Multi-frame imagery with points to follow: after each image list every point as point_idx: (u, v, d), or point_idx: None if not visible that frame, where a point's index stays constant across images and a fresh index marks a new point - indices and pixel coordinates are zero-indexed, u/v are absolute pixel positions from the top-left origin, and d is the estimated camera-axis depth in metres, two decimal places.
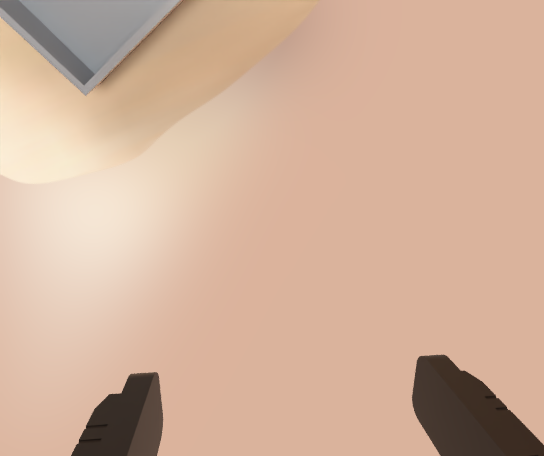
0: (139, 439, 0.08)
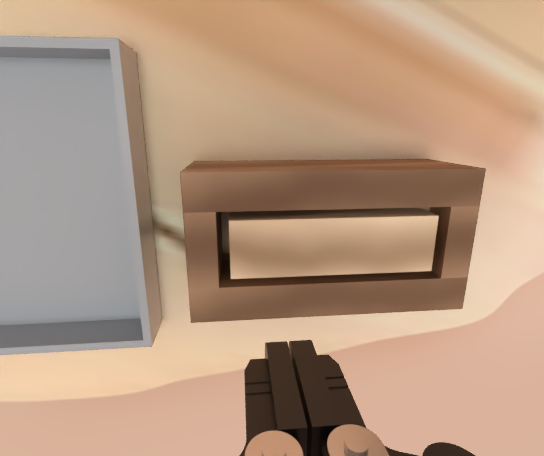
0: None
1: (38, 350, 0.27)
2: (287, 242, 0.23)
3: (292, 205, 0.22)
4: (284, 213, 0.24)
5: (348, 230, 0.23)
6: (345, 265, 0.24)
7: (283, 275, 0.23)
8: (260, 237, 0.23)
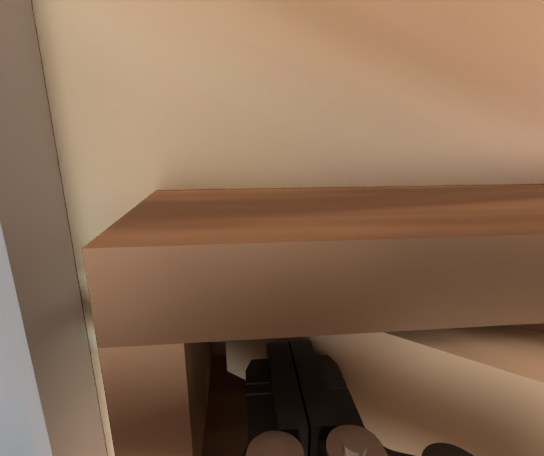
0: None
1: None
2: None
3: (379, 321, 0.09)
4: None
5: (445, 381, 0.09)
6: None
7: None
8: None
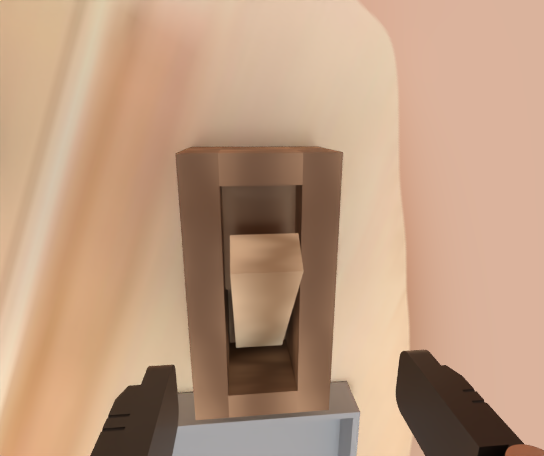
0: (160, 428, 0.08)
1: None
2: (254, 333, 0.27)
3: (221, 338, 0.24)
4: None
5: (246, 314, 0.24)
6: (281, 312, 0.24)
7: (284, 332, 0.28)
8: (249, 340, 0.29)
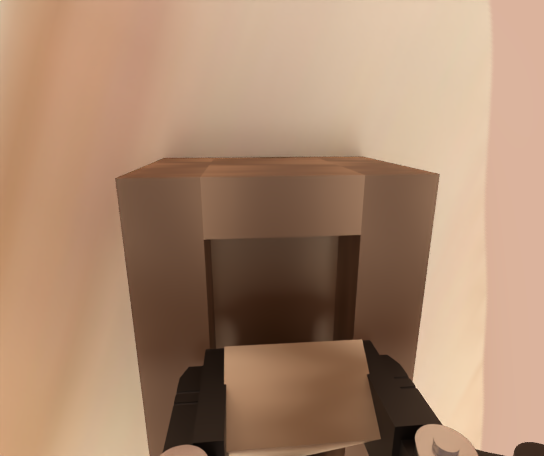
0: None
1: None
2: None
3: None
4: None
5: None
6: (315, 451, 0.14)
7: None
8: None
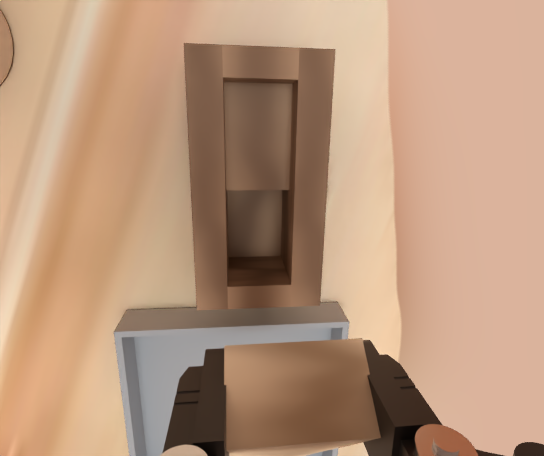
0: None
1: None
2: None
3: (222, 228, 0.27)
4: None
5: (253, 455, 0.14)
6: (315, 450, 0.14)
7: (312, 453, 0.17)
8: None
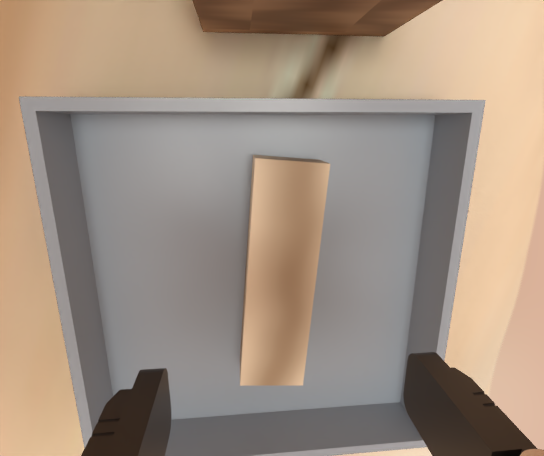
0: (151, 433, 0.08)
1: (456, 258, 0.20)
2: (269, 333, 0.21)
3: None
4: None
5: (263, 269, 0.20)
6: (305, 271, 0.20)
7: (307, 336, 0.21)
8: (260, 357, 0.21)
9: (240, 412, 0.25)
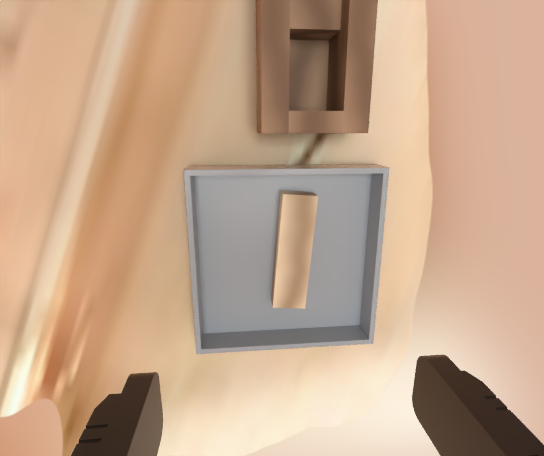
0: (139, 439, 0.08)
1: (380, 241, 0.40)
2: (288, 279, 0.42)
3: (286, 52, 0.31)
4: (273, 273, 0.43)
5: (285, 247, 0.40)
6: (306, 248, 0.41)
7: (307, 282, 0.42)
8: (283, 293, 0.42)
9: (270, 328, 0.46)
